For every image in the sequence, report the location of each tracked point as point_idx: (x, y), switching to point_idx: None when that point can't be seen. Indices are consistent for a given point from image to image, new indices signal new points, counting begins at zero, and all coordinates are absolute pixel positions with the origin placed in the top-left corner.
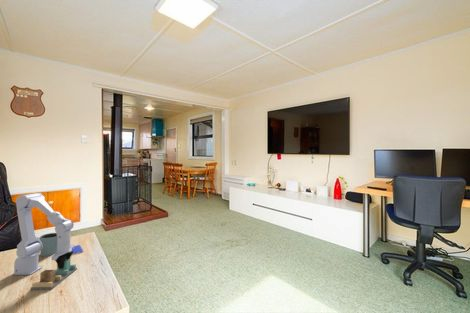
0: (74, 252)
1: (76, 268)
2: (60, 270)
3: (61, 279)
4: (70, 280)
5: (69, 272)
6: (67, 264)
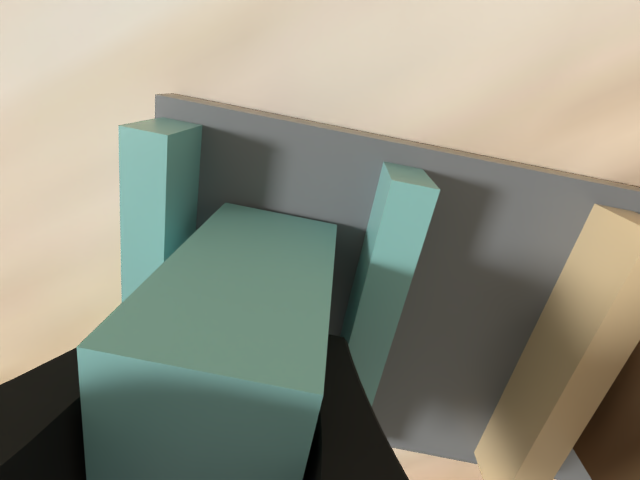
0: None
1: (173, 97)
2: (373, 344)
3: (611, 197)
4: (636, 14)
5: (349, 163)
6: (291, 298)
